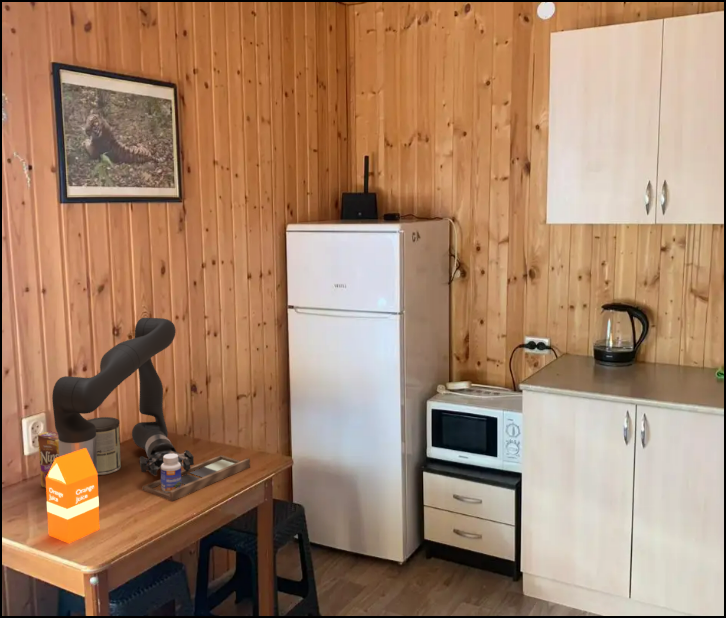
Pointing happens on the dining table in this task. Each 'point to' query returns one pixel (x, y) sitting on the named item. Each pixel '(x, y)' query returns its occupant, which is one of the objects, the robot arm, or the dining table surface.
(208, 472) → the tray
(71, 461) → the orange juice
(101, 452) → the coffee can
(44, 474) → the candy box
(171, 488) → the pill bottle
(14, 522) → the dining table surface
